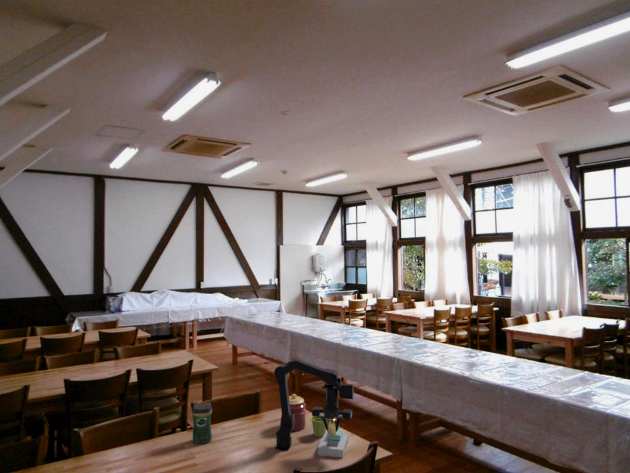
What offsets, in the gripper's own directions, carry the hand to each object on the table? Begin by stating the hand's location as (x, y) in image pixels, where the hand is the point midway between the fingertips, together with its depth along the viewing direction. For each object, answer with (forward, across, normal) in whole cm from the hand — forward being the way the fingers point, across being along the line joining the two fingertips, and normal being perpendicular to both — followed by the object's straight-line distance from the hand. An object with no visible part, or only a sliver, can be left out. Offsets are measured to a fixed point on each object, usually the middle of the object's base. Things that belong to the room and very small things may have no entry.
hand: (332, 430), depth 206 cm
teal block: (+6, 0, +8) cm, 10 cm away
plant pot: (+10, -10, +17) cm, 22 cm away
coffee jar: (+10, -66, -4) cm, 67 cm away
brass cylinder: (+2, 0, 0) cm, 2 cm away
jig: (+10, 0, +3) cm, 10 cm away
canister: (+10, -26, +24) cm, 37 cm away
